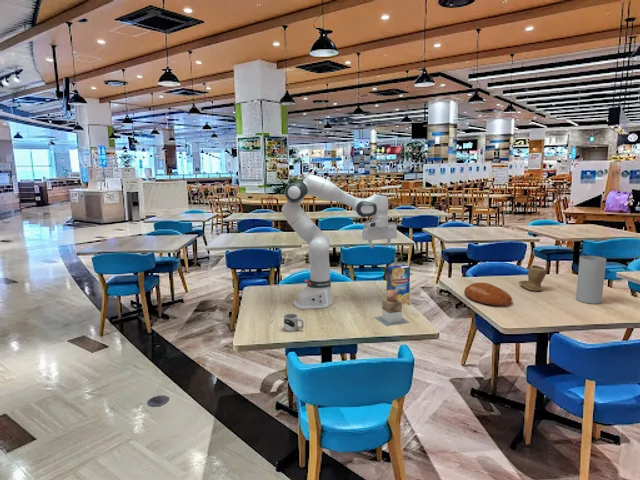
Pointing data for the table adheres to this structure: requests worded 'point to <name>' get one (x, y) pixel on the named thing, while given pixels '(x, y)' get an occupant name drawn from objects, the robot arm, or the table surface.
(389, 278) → the beverage box
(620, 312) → the table surface
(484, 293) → the bread
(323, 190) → the robot arm
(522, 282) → the brown boot
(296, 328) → the mug
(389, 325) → the blue-grey board
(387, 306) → the tan wooden block
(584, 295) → the cylinder vase
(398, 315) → the grey tower block
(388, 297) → the brown rounded knob
